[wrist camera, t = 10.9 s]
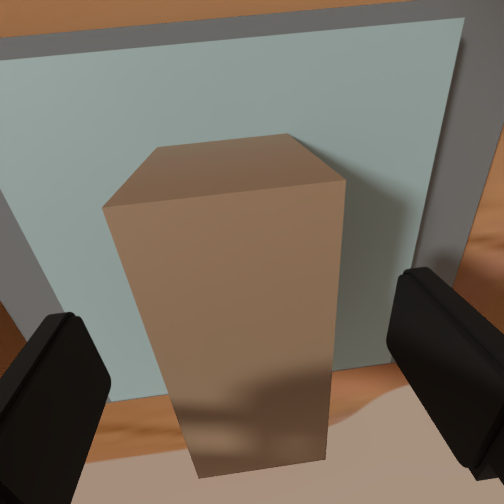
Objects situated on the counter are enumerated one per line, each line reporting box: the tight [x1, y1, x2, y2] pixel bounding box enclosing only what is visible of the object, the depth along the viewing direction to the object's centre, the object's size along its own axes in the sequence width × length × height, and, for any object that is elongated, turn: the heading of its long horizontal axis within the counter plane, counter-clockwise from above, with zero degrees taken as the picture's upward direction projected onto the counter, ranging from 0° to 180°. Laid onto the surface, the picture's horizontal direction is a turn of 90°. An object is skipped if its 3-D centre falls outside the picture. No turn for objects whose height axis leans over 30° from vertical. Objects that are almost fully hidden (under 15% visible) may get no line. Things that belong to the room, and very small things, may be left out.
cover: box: [0, 17, 465, 479], centre depth 10 cm, size 14×14×6 cm
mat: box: [0, 0, 504, 403], centre depth 13 cm, size 20×16×1 cm
